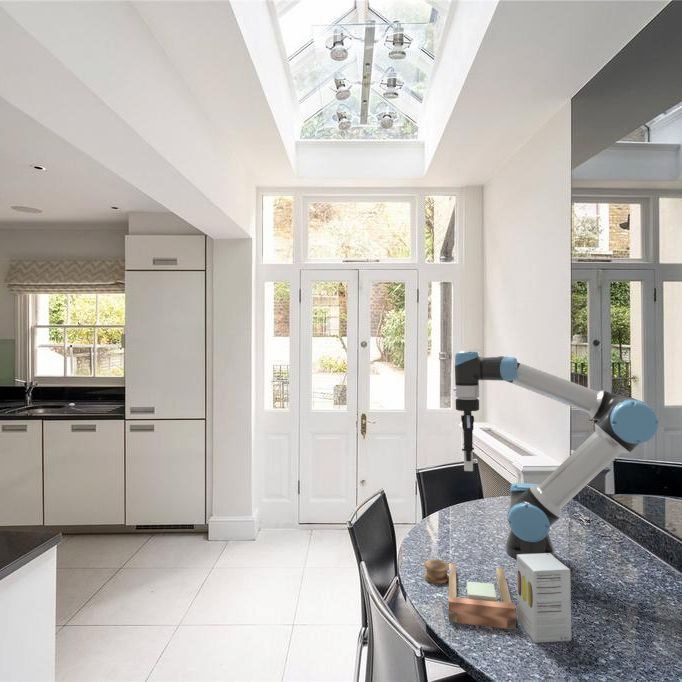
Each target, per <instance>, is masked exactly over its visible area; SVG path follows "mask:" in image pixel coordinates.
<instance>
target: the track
mask: <svg viewBox="0 0 682 682" xmlns="http://www.w3.org/2000/svg"><path fill="white" fill-rule="evenodd" d="M456 564H457V563H448V565H449V569H448V576H449V580H448V622H450V623H456V624H463V625H466V624H467V625H473V626H483V627H490V628H500V629H506V630H507V629H509V630H517V625H516V624H517V622H516V621H517V619H516V618H517V615H516V614H517V612H516V610H517V609H516V605H515V603H512V598H511V594H510V590H509V587H508V583H507V578H506V574H505V569H504V567H496V569H495V571H496V574H495V575H496V581H497V586H498V590H499V596H500V600H501V601H496V602H495V601H485V600H476V599H467V597H466V598H465V597H464V598H463V597H457V569H456V568H457V567H456V566H457V565H456Z"/></svg>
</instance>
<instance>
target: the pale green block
mask: <svg viewBox="0 0 682 682" xmlns="http://www.w3.org/2000/svg"><path fill="white" fill-rule="evenodd" d="M495 589H496V588H495V584H494V583H487V582H486V583H485V582H477V581H467V580H466V599H476V600H485V601H495V602H497V593H496V590H495Z"/></svg>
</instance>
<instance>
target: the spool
mask: <svg viewBox="0 0 682 682" xmlns="http://www.w3.org/2000/svg"><path fill="white" fill-rule="evenodd" d="M423 565H424V569H426V572H425V573H424V580H426V581H427V582H429V583H432V584H435V585H436V584H438V585H439V584H440V585H441V584H446V583H447V582H448V583H449V574H448V571H449V563H447V561H445V560H441V559H434V558H433V559H428V560H426V561H424V564H423Z"/></svg>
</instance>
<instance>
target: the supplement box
mask: <svg viewBox="0 0 682 682" xmlns="http://www.w3.org/2000/svg"><path fill="white" fill-rule="evenodd" d="M571 585H572V584H571V569H570V568H569V567H567V566H566V565H565V564H563V562H561V560H559V559H557V558H556V557H555V555H554V556H553V555H552V554H551V553H540V554H518V555H517V559H516V595H517V596H516V599H517V601H516V602H517V603H516V605H517V609H516V610H517V612H516V614H517V615H516V618H517V619H516V621H517V622H518V623H519V624H520V626H521V627H522V628H523V630H524V631H525V632H526V633H527V634H528V637H530V639H531V640H532V641H533V643H535V644H536V643H539V644H540V643H555V642H571V641H572V604H571V602H572V601H571V595H572V594H571V593H572V592H571V590H572V589H571V588H572V587H571Z"/></svg>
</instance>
